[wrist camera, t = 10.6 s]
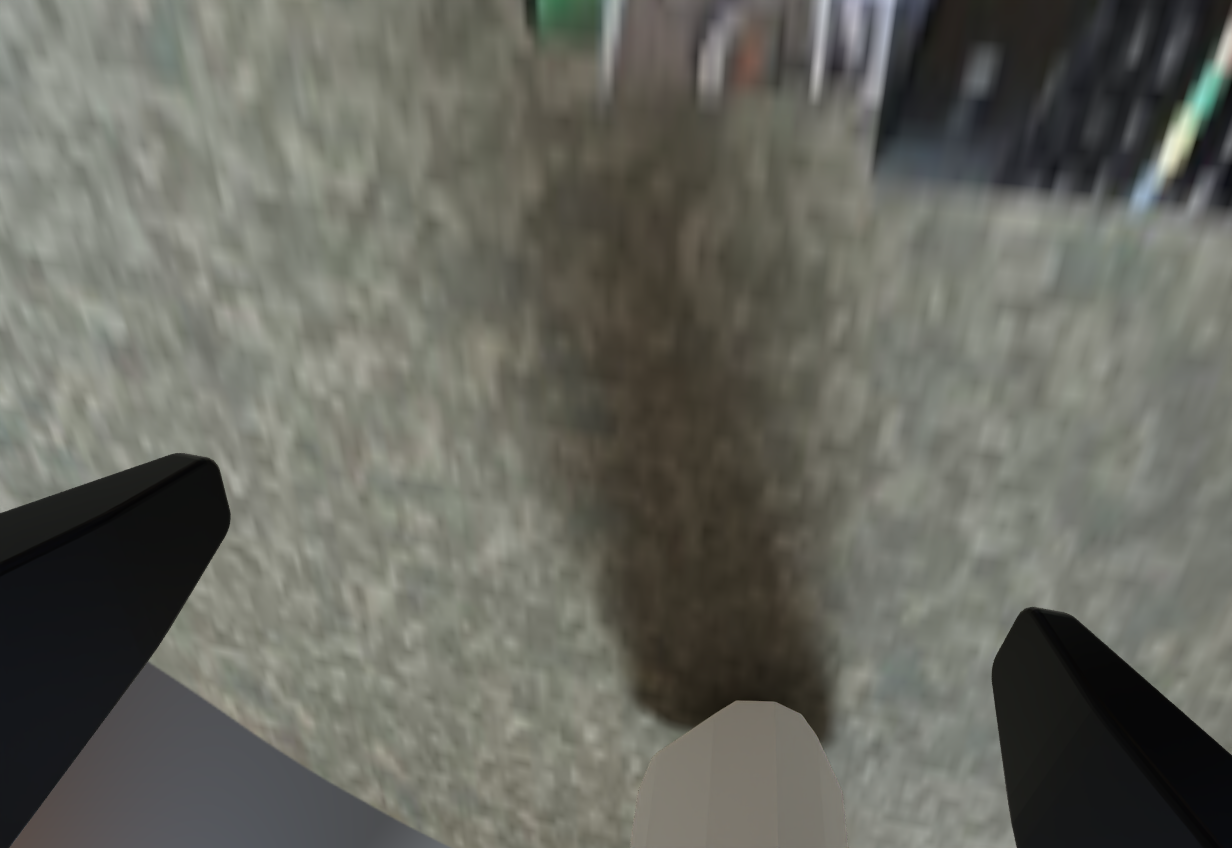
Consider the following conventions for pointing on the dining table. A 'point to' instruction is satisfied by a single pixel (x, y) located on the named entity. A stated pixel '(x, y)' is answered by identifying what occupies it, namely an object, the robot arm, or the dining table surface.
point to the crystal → (742, 785)
